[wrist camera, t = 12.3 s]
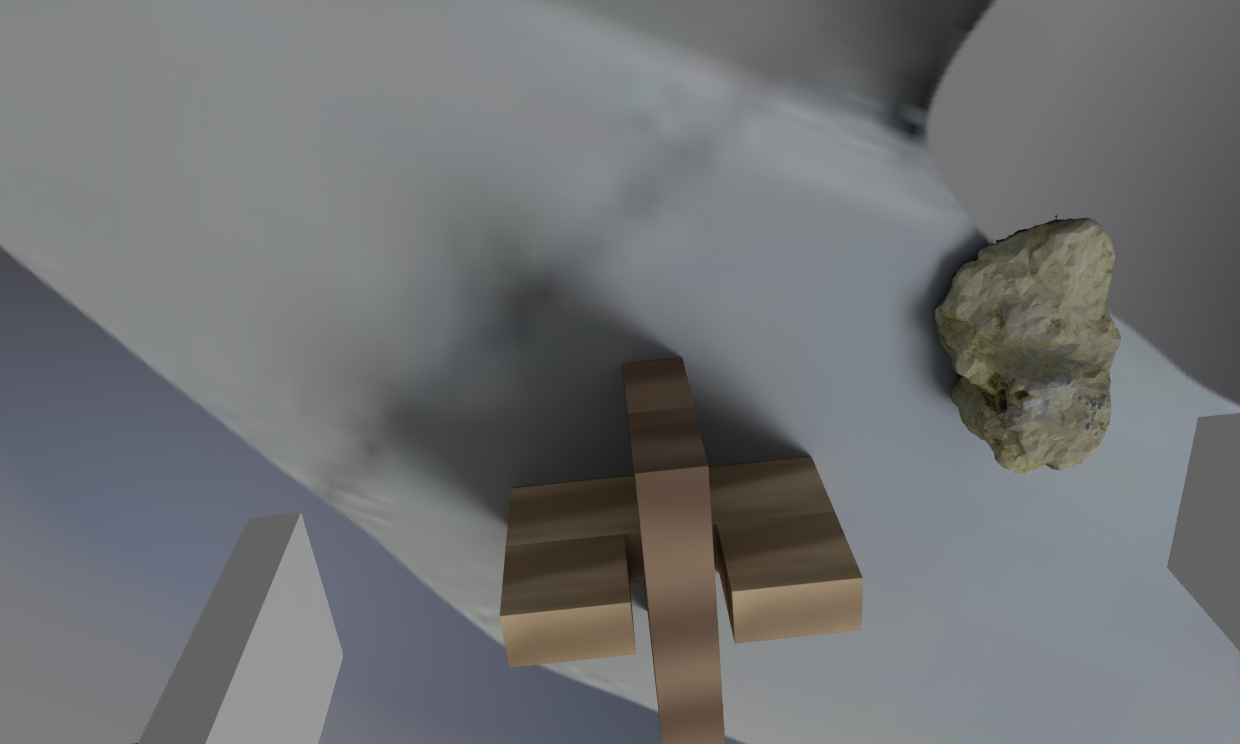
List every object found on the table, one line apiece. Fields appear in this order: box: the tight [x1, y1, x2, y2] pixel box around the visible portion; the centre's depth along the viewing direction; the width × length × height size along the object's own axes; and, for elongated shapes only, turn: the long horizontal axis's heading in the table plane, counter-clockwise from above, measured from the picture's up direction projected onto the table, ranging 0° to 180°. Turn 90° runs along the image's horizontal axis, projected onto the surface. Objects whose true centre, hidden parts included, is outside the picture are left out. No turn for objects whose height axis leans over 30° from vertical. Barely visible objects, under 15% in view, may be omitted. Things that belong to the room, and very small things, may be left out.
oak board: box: [500, 457, 863, 667], centre depth 48 cm, size 3×16×10 cm, turn 95°
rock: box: [934, 216, 1121, 473], centre depth 47 cm, size 11×6×10 cm
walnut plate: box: [622, 358, 725, 744], centre depth 48 cm, size 16×3×10 cm, turn 5°
